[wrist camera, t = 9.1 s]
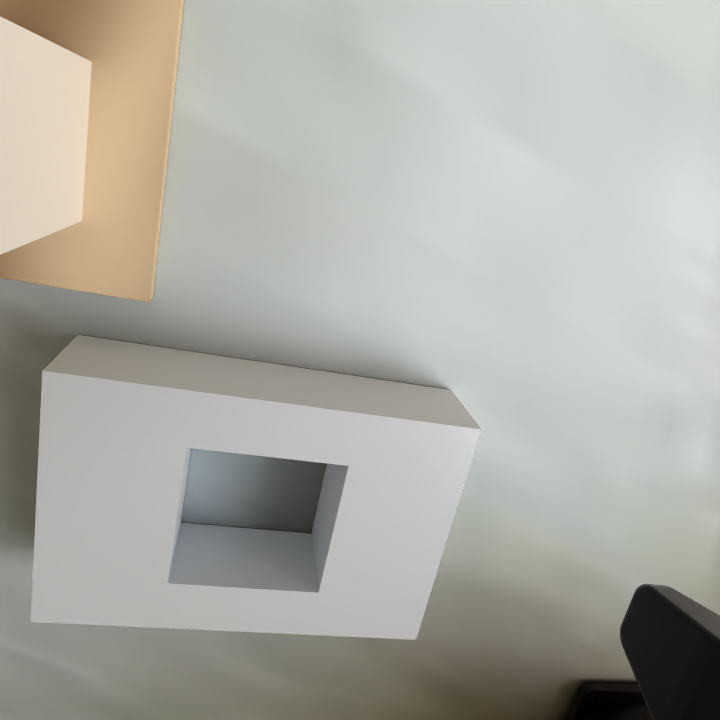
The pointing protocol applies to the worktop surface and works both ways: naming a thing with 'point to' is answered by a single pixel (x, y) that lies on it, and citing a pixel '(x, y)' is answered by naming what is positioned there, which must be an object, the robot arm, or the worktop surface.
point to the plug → (40, 136)
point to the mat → (110, 143)
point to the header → (232, 544)
